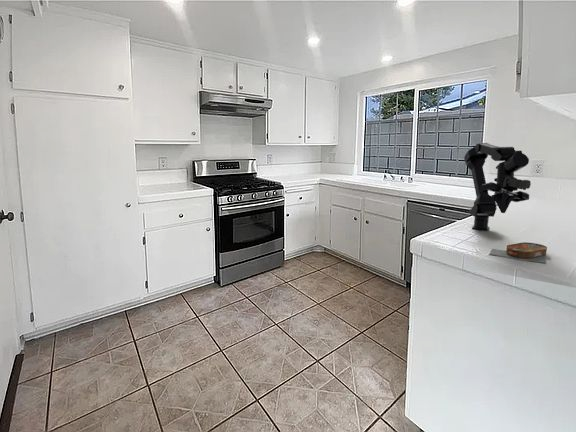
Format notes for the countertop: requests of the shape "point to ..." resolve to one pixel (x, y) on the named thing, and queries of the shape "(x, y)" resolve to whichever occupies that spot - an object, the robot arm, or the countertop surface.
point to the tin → (526, 250)
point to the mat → (503, 254)
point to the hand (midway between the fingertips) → (503, 212)
